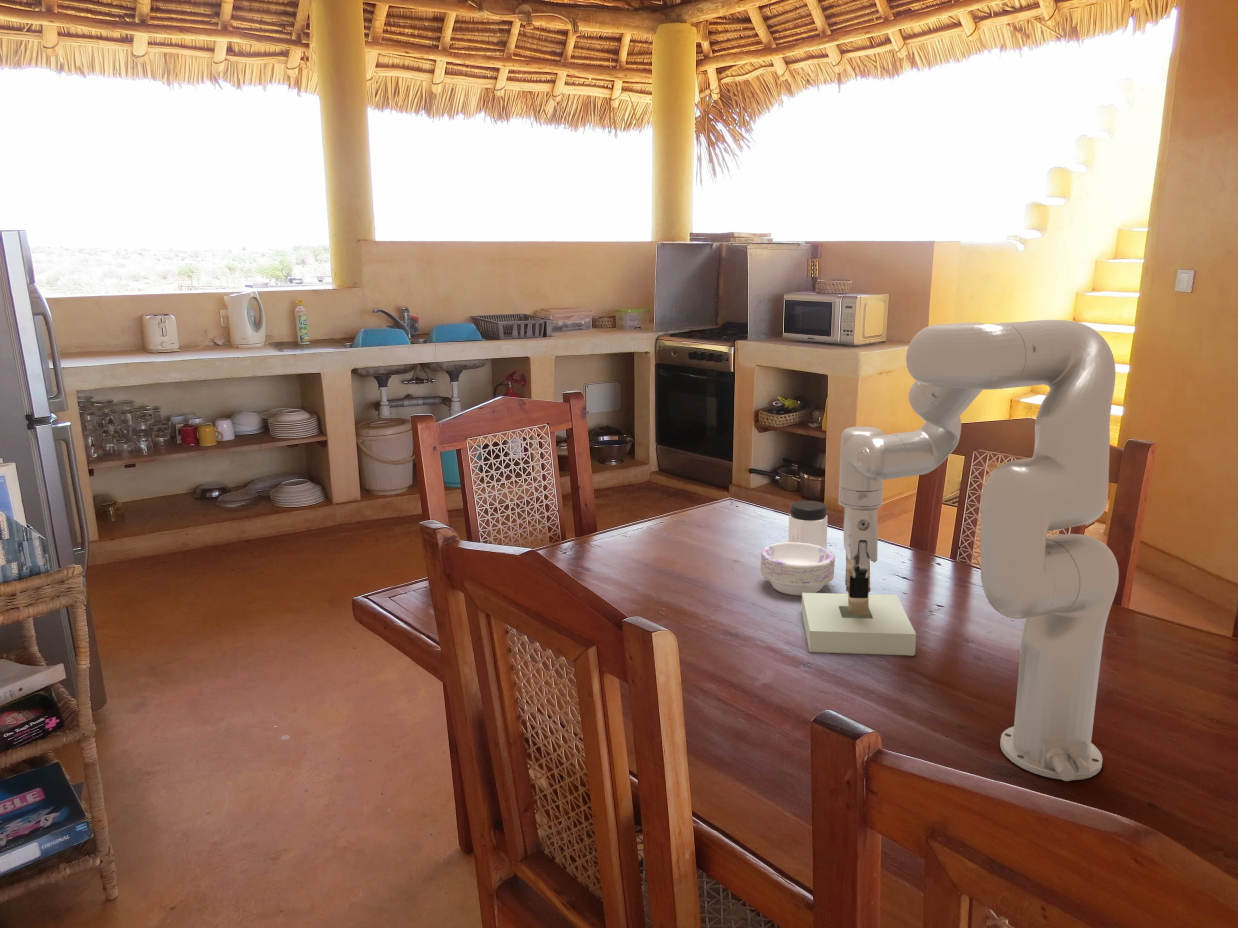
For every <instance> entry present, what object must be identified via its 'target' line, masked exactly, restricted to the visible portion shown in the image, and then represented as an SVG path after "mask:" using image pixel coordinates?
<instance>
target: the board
mask: <svg viewBox="0 0 1238 928" xmlns="http://www.w3.org/2000/svg"><path fill="white" fill-rule="evenodd" d="M801 615H802V616H801V617H802V620H803V627H804V631H805V636H806V641H807V645H808V651H809V653H826V654H827V653H830V654H834V653H835V654H858V655H861V654H862V655H887V656H888V655H889V656H891V655H892V656H893V655H894V656H913V657H914V655H915V656H916V644H917V643H916V642H917V633H916V631H915V629H914V627H913V625H912V623H911V621H910V620H909V617H908V615H907V613H906V611H905V609H904V607H903V605H902V603H901V601H900V599H899V597H898V595H897V594H870V593H869V613H868V614H866V615H853V614H850V613H848V593H827V592H826V593H823V592H816V593H802V596H801Z"/></svg>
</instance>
